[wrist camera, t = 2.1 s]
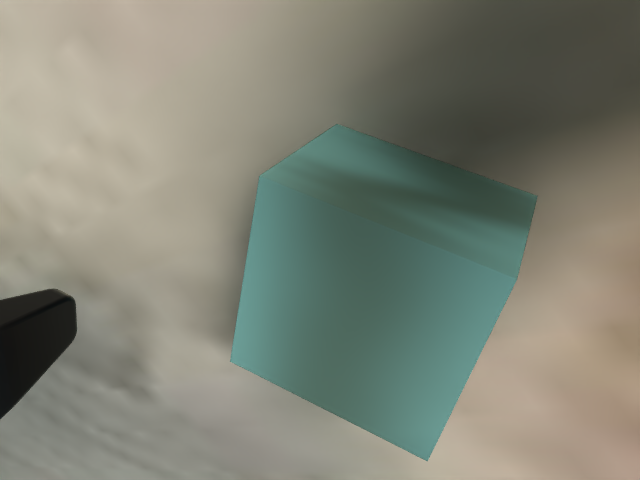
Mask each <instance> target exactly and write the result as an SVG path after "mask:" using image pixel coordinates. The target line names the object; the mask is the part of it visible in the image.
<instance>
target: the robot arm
mask: <svg viewBox="0 0 640 480" xmlns="http://www.w3.org/2000/svg"><path fill="white" fill-rule="evenodd" d="M76 332H77V319H76V303H75V300H74V298H73V297H72V296H70V295H68V294H66V293H64V292H62V291H60V290H58V289H47V290H43V291H38V292H34V293H29V294H25V295H20V296H16V297H11V298H7V299H2V300H0V419H1V418H2V417H3V416H4V415H5V414H6V413H7V412H9V411H10V410H11V409H12V408H13V407H14V406H15V405H16V404H17V402H18V401H19V400H20V399H21V398H22V397H23V396H24V395H25V394H26V393H27V392H28V391H29V390H30V388H31V387H32V386H33V385H34V384H35V383H36V382H37V381H38V380H39V378H40V377H41V376H42V375H43V374H44V373H45V372H46V371H47V370H48V368H49V367H50V366H51V365H52V364H53V363H54V362H55V361H56V360H57V359H58V357H59V356H60V355H61V354H62V353H63V352H64V351H65V350H66V349H67V347H68V346H69V345H70V344H71V343H72V341H73V340H74V338H75V336H76Z"/></svg>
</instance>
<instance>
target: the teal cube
mask: <svg viewBox="0 0 640 480" xmlns="http://www.w3.org/2000/svg"><path fill="white" fill-rule="evenodd" d="M537 197H538V196H536V195H533V194H530V193H528V192H525V191H522V190H519V189H516V188H514V187H511V186H508V185H505V184H503V183H500V182H497V181H494V180H491V179H489V178H486V177H483V176H480V175H478V174H475V173H472V172H469V171H466V170H464V169H461V168H458V167H455V166H453V165H450V164H447V163H444V162H441V161H439V160H436V159H433V158H430V157H427V156H425V155H422V154H419V153H416V152H414V151H411V150H408V149H405V148H402V147H400V146H397V145H394V144H391V143H389V142H386V141H383V140H380V139H377V138H375V137H372V136H369V135H366V134H363V133H361V132H358V131H355V130H352V129H350V128H347V127H344V126H341V125H338V124H336V125H335V126H333V127H332V128H330V129H329V130H327V131H326V132H324V133H323V134H321V135H320V136H318V137H317V138H315V139H314V140H312V141H311V142H309V143H308V144H306V145H305V146H303V147H302V148H300V149H299V150H297V151H296V152H294V153H293V154H291V155H290V156H288V157H287V158H285V159H284V160H282V161H281V162H279V163H278V164H276V165H275V166H273V167H272V168H270V169H269V170H267V171H266V172H264V173H263V174H261V175H260V176H259V182H258V188H257V195H256V201H255V207H254V214H253V220H252V226H251V233H250V239H249V245H248V252H247V258H246V264H245V271H244V277H243V283H242V290H241V296H240V302H239V309H238V315H237V321H236V328H235V334H234V340H233V347H232V353H231V359H230V362H232V363H234V364H236V365H238V366H240V367H242V368H244V369H246V370H248V371H250V372H252V373H254V374H256V375H258V376H260V377H262V378H264V379H266V380H268V381H270V382H272V383H274V384H276V385H278V386H280V387H282V388H284V389H286V390H288V391H290V392H292V393H293V394H295V395H297V396H299V397H301V398H303V399H305V400H307V401H309V402H311V403H313V404H315V405H317V406H319V407H321V408H323V409H325V410H327V411H329V412H331V413H333V414H335V415H337V416H339V417H341V418H343V419H345V420H347V421H349V422H351V423H353V424H355V425H357V426H359V427H361V428H363V429H365V430H367V431H369V432H370V433H372V434H374V435H376V436H378V437H380V438H382V439H384V440H386V441H388V442H390V443H392V444H394V445H396V446H398V447H400V448H402V449H404V450H406V451H408V452H410V453H412V454H414V455H416V456H418V457H420V458H422V459H424V460H426V461H428V459H429V457H430V455H431V453H432V451H433V449H434V447H435V445H436V443H437V441H438V439H439V437H440V435H441V433H442V431H443V429H444V427H445V425H446V423H447V421H448V419H449V417H450V415H451V413H452V410H453V408H454V406H455V404H456V402H457V400H458V398H459V396H460V394H461V392H462V390H463V388H464V386H465V384H466V382H467V380H468V378H469V376H470V374H471V372H472V370H473V368H474V366H475V364H476V362H477V360H478V358H479V356H480V354H481V352H482V349H483V347H484V345H485V343H486V341H487V339H488V337H489V335H490V333H491V331H492V329H493V327H494V325H495V323H496V321H497V319H498V317H499V315H500V313H501V311H502V309H503V307H504V305H505V303H506V301H507V299H508V297H509V295H510V293H511V290H512V288H513V286H514V284H515V282H516V280H517V277H518V273H519V269H520V265H521V261H522V257H523V253H524V249H525V245H526V241H527V237H528V233H529V229H530V225H531V221H532V217H533V213H534V209H535V205H536V201H537Z"/></svg>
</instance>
